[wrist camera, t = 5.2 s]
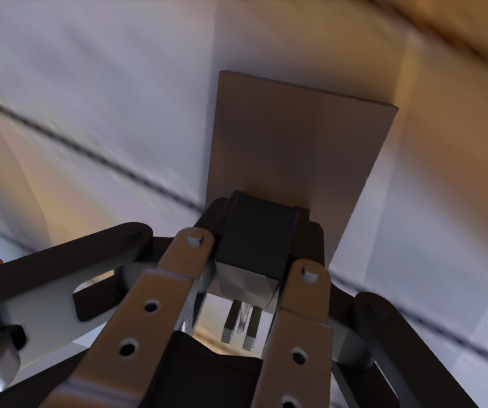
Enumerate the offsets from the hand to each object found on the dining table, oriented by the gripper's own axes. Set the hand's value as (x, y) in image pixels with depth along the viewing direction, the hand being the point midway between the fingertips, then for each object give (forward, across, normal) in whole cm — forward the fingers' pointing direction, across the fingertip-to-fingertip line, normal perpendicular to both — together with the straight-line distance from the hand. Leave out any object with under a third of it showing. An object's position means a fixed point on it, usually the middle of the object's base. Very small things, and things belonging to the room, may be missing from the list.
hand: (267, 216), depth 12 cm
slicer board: (+10, 0, +6) cm, 12 cm away
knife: (+4, 0, +5) cm, 6 cm away
